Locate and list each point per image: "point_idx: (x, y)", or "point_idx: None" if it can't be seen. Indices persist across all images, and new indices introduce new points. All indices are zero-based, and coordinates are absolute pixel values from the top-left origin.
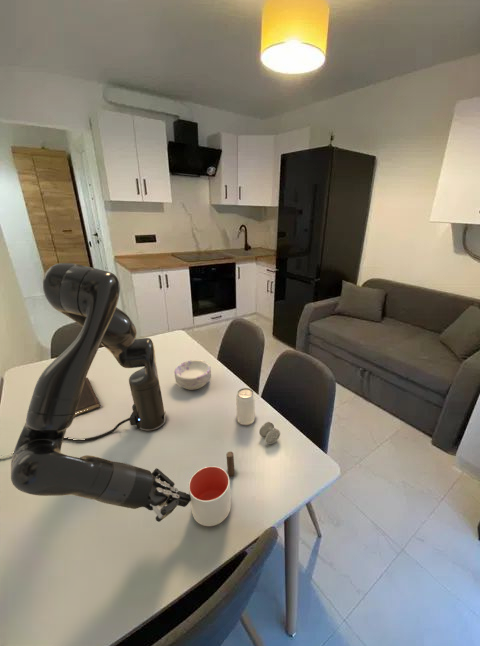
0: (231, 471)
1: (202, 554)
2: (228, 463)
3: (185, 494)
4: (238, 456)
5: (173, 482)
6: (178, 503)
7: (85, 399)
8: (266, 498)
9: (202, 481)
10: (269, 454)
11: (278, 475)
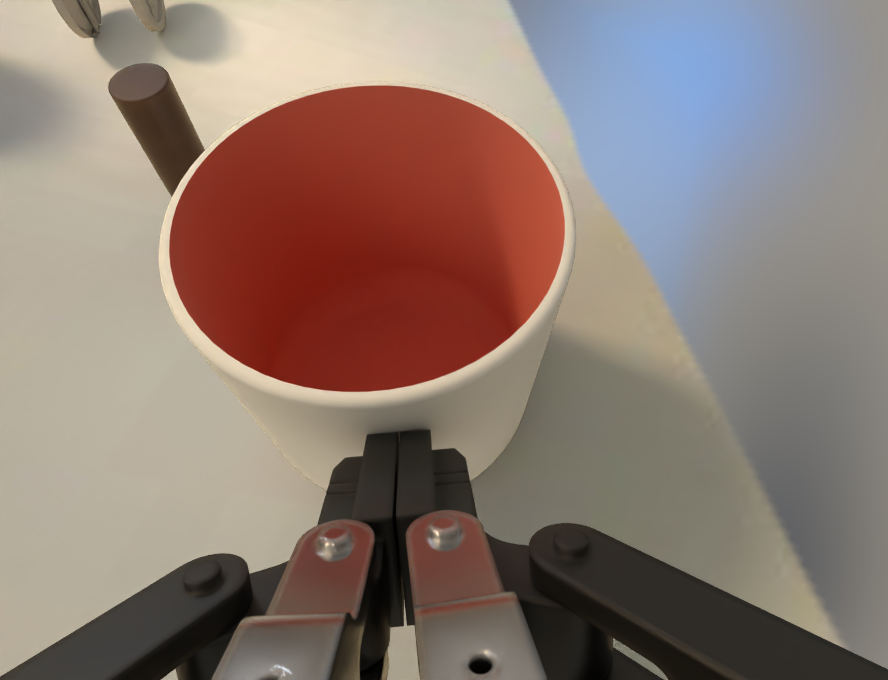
0: None
1: (661, 495)
2: (184, 156)
3: (381, 459)
4: (125, 172)
5: (187, 564)
6: (587, 530)
7: None
8: None
9: (231, 342)
10: (219, 53)
11: (359, 59)
